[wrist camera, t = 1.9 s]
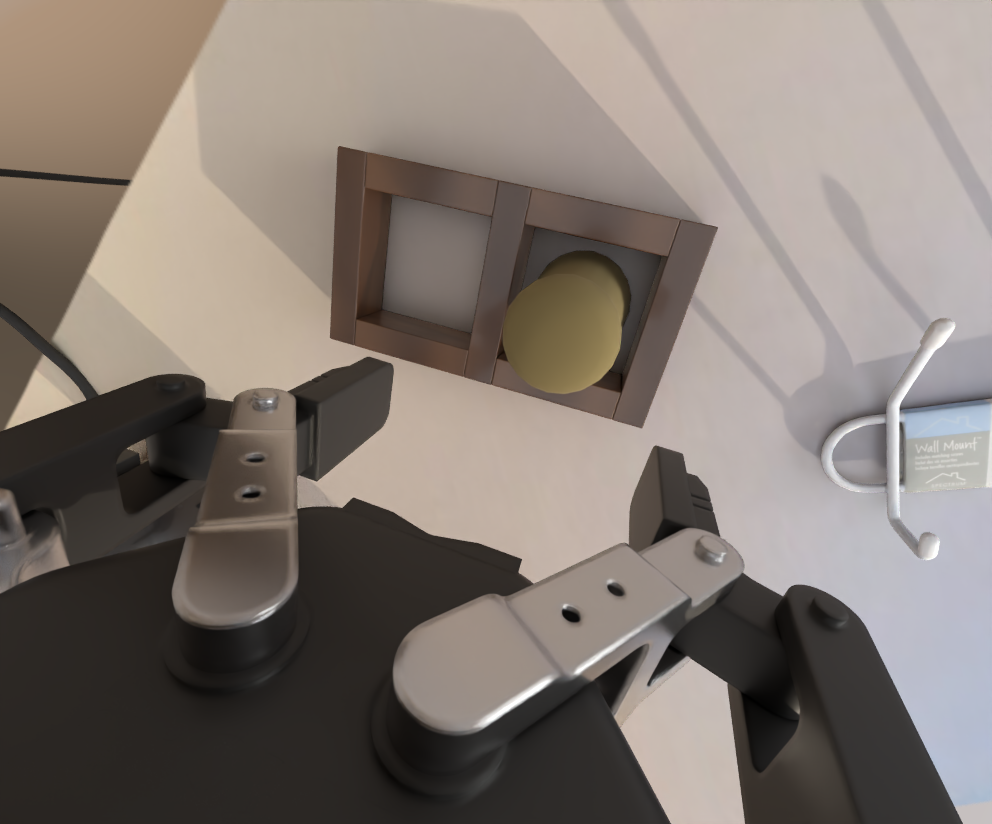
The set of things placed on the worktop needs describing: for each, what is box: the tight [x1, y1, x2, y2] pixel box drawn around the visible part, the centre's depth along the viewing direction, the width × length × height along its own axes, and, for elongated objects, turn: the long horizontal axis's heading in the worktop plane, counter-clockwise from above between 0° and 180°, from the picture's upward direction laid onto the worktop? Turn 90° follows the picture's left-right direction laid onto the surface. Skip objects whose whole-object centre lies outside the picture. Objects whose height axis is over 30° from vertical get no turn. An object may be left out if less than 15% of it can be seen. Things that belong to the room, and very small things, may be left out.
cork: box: [503, 251, 631, 394], centre depth 24 cm, size 6×6×11 cm
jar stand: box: [330, 146, 718, 428], centre depth 28 cm, size 21×11×4 cm, turn 79°
